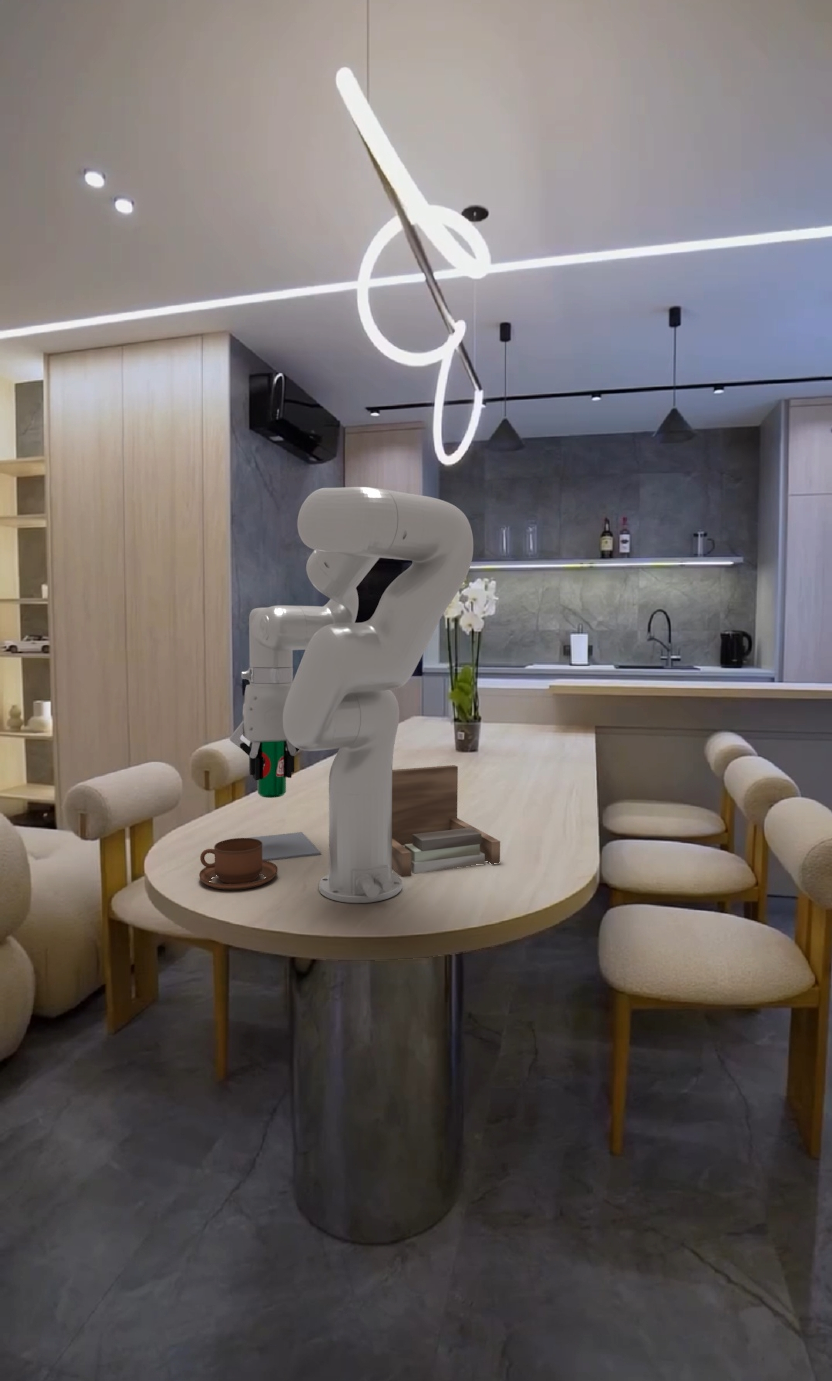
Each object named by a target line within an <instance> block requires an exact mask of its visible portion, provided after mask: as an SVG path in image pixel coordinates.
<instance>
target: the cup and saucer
mask: <svg viewBox="0 0 832 1381" xmlns="http://www.w3.org/2000/svg"><path fill="white" fill-rule="evenodd" d="M207 854H213V855H214V862H212V863H208V862H207V861H206V860H205V859H206V858H205V857H206V855H207ZM199 857H200V859H199V860H200V862H201V864H202V865H203V866H204V868H202V869H201V870H200V871H199V873H198V876H199V878H200V879H199V880H201V882H202V883H204V884H205V885H206V886H208V887H211V888H214V889H217V890H223V891H224V890H225V891H226V890H227V891H236V890H239V891H240V890H247V888H248V889H252V888H257V887H259V886H263V885H265V884H266V883H268V882H270V881H271V880H273V879H274V878H275V877H276V875H277V873H278V870H279V869H278V866H277V865H276V864H275V863H273V862H272V861H265V860H262V842H261V841H260V840H257V839H252V838H250V837H236V838H229V839H224V840H221V841H219V842H218V841H217V843H215V844H214V848H206V849H204V850H203V851H202V852H201V854H200V856H199ZM261 874H263V875H264V876H263V875H262V876H263V879H260V880H256V879H257V878H258V877H259V876H260V875H261ZM216 875H217V876H216ZM212 877H215V878H216V877H218V879H219V880H220V881H222V882H224V883H217V882H209V881H213V879H211V878H212ZM264 877H266V878H265V879H264ZM255 880H256V881H255Z"/></svg>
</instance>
